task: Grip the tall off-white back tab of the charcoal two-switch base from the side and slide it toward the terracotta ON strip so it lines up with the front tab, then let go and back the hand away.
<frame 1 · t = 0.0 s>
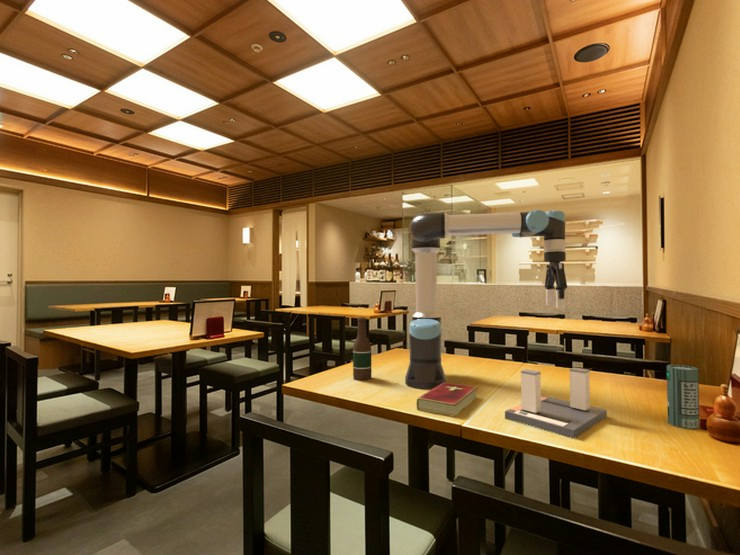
hand: (555, 306, 145), 28 cm above the table, tool pointing down, fingers open, 13 cm apart
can: (683, 425, 99), on the table
beer bottle: (362, 378, 149), on the table
hardcover book: (448, 405, 118), on the table
switch base: (555, 417, 104), on the table
back tab: (579, 388, 105), point 8 cm above the table, slide at 0.0 cm
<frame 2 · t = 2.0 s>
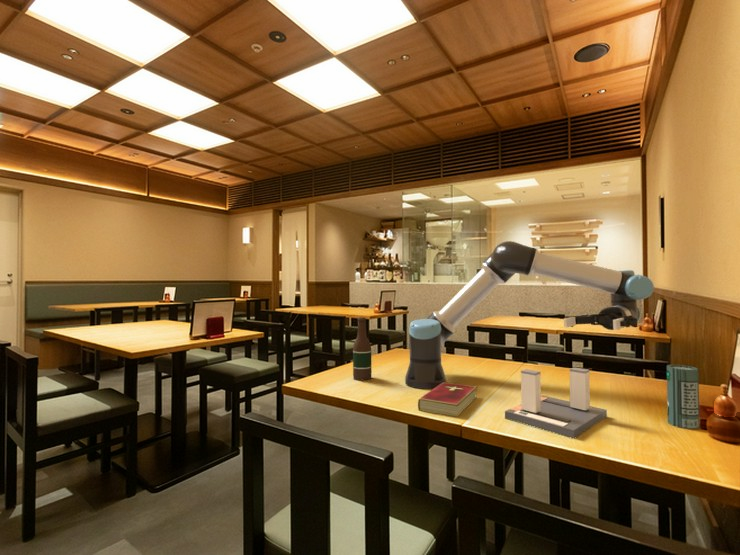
hand: (588, 323, 113), 25 cm above the table, tool horizontal, fingers open, 13 cm apart
nothing on the table moved.
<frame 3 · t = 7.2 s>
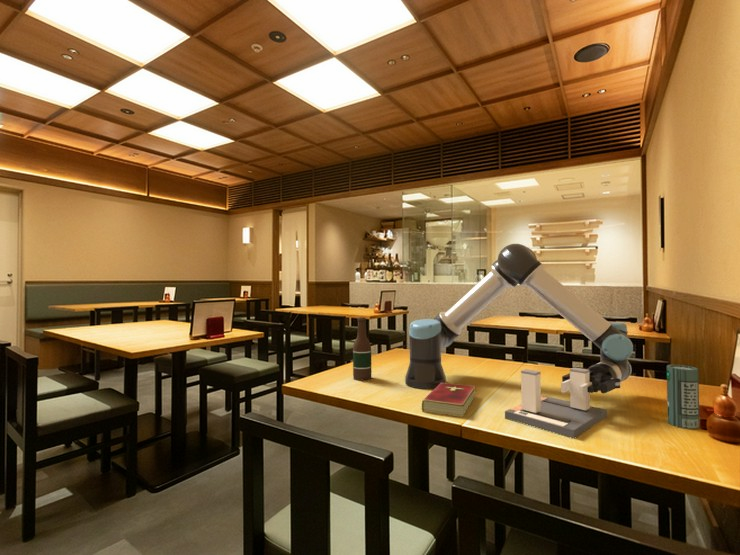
hand: (571, 389, 102), 8 cm above the table, tool horizontal, fingers closed on back tab, 4 cm apart
back tab: (579, 388, 105), point 8 cm above the table, slide at 0.0 cm, touching gripper
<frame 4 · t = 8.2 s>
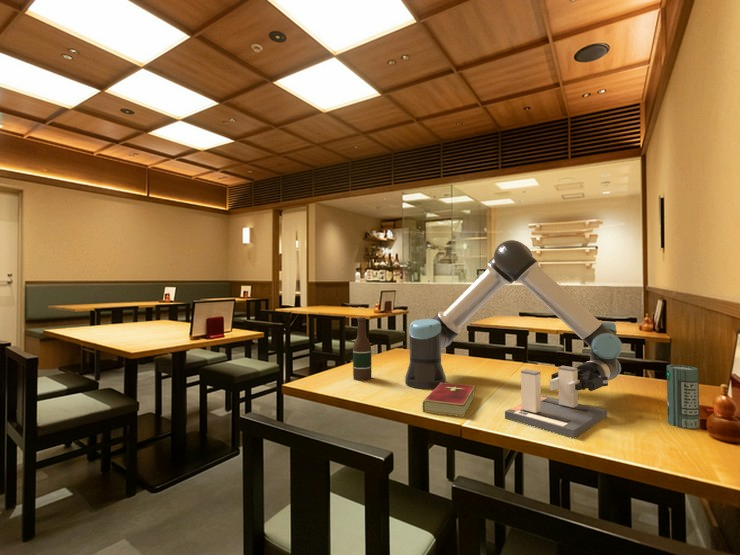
hand: (559, 387, 104), 8 cm above the table, tool horizontal, fingers closed on back tab, 4 cm apart
back tab: (568, 386, 108), point 8 cm above the table, slide at 3.1 cm, touching gripper
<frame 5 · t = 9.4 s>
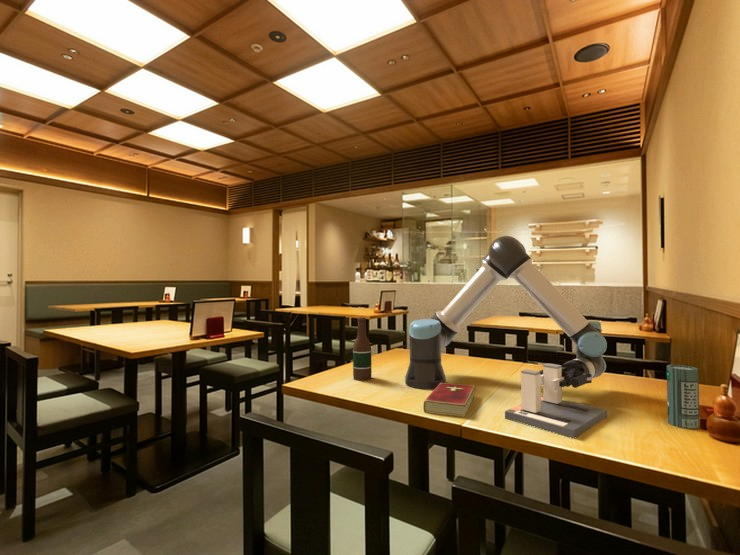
hand: (544, 383, 108), 8 cm above the table, tool horizontal, fingers open, 4 cm apart
back tab: (552, 383, 111), point 8 cm above the table, slide at 7.5 cm
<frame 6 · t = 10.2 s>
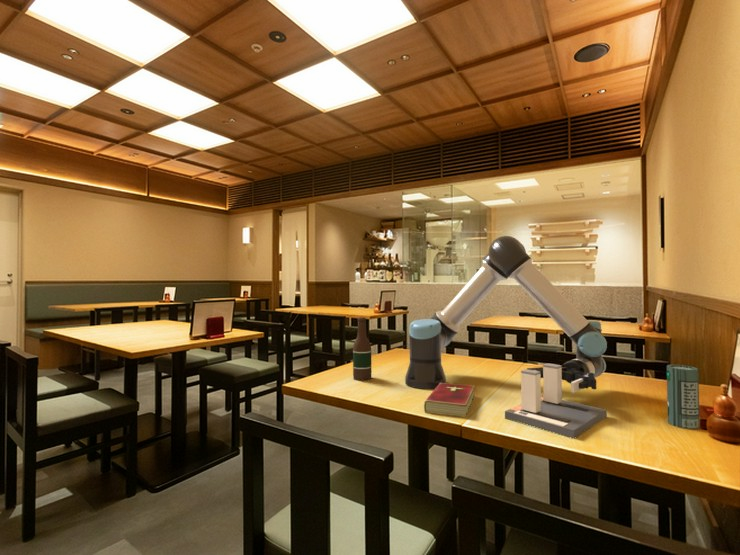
hand: (547, 382, 109), 8 cm above the table, tool horizontal, fingers open, 13 cm apart
nothing on the table moved.
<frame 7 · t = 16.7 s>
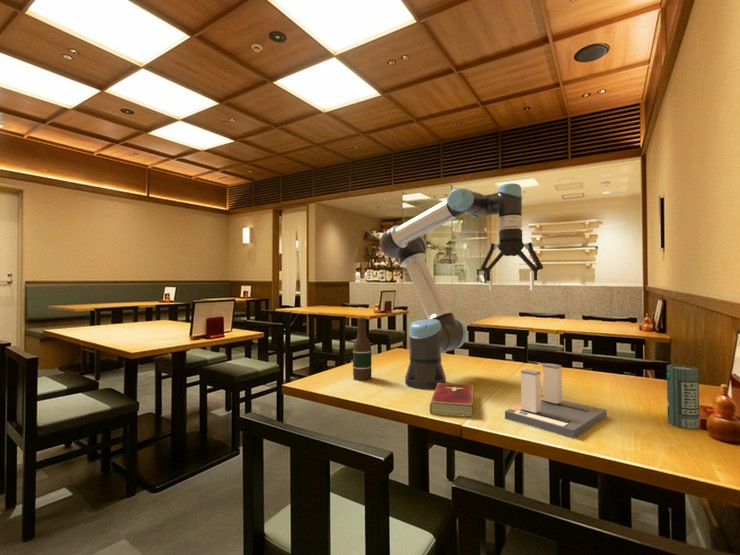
hand: (511, 290, 131), 35 cm above the table, tool pointing down, fingers open, 13 cm apart
at the end: back tab slide at 7.5 cm; the gripper is holding nothing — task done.
